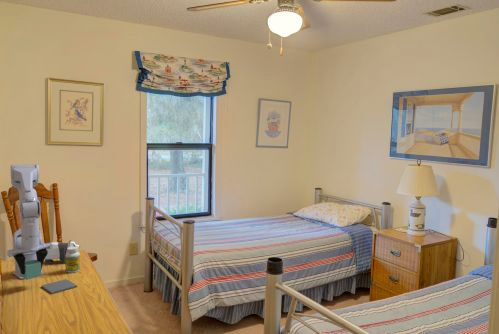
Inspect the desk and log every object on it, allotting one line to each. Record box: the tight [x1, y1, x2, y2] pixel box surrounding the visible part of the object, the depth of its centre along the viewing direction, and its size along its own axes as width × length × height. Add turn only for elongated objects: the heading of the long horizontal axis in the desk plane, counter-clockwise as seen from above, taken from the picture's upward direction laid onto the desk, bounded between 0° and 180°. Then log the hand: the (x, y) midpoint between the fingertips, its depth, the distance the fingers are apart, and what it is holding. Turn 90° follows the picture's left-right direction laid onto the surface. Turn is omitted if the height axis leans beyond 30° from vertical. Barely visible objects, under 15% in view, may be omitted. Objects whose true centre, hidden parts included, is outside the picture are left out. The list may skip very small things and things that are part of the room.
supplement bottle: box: [65, 247, 81, 274], centre depth 161 cm, size 5×5×10 cm
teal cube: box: [21, 260, 42, 281], centre depth 143 cm, size 5×5×5 cm
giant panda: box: [44, 239, 81, 265], centre depth 171 cm, size 15×6×10 cm, turn 105°
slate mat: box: [41, 278, 78, 295], centre depth 145 cm, size 9×9×1 cm
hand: (31, 271), depth 144 cm, fingers closed on teal cube, 5 cm apart
